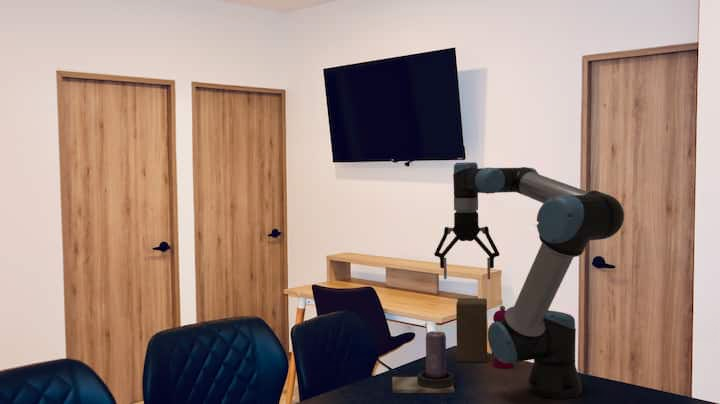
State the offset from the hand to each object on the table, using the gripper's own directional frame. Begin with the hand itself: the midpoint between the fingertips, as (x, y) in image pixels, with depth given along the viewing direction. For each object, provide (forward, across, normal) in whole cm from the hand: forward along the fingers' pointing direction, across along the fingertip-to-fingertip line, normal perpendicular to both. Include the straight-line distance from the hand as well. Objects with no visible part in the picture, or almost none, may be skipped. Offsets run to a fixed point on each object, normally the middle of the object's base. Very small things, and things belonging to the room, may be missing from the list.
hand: (467, 278), depth 213 cm
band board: (+30, +13, +14) cm, 36 cm away
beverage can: (+30, +10, +13) cm, 34 cm away
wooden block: (+31, -1, -19) cm, 36 cm away
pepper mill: (+31, -11, -11) cm, 34 cm away
